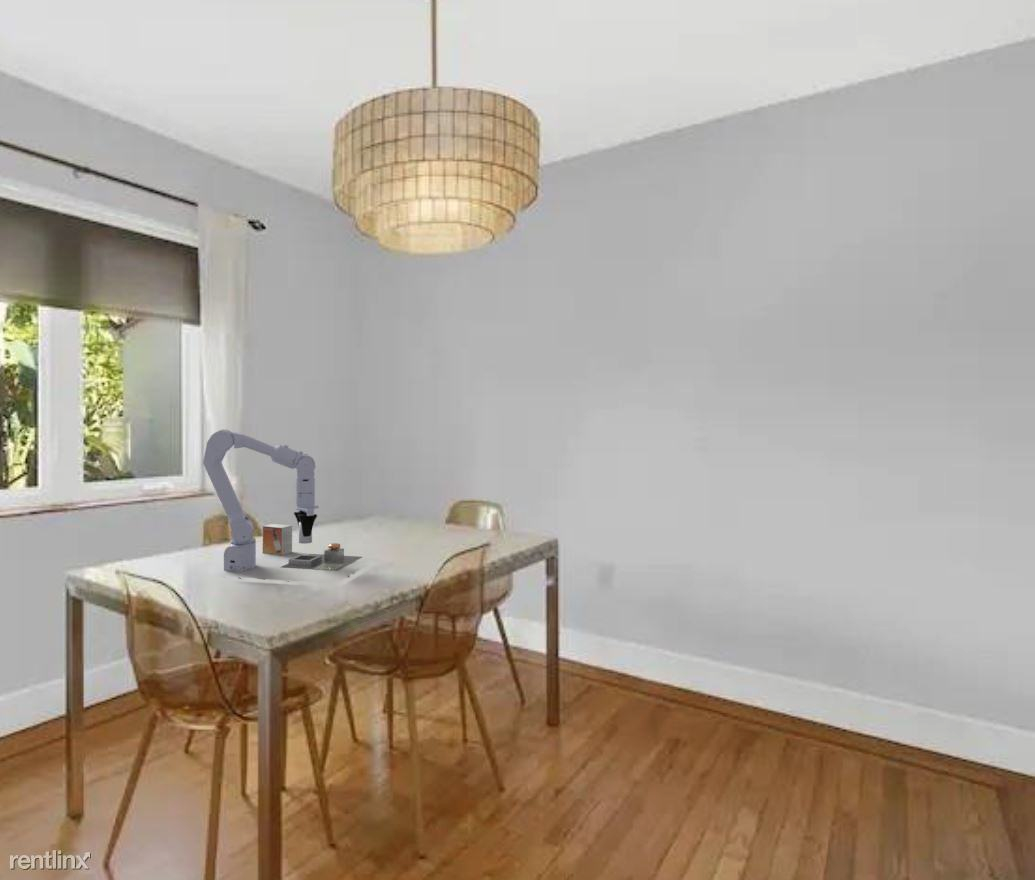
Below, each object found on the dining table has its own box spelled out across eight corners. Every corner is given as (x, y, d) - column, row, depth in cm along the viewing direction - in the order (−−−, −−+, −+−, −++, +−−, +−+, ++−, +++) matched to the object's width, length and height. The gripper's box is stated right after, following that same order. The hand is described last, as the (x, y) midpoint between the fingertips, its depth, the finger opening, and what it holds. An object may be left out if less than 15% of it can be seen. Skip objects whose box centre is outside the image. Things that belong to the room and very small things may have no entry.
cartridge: (313, 542, 205) (313, 520, 205) (300, 544, 203) (300, 521, 203) (310, 540, 209) (310, 518, 208) (297, 541, 207) (297, 519, 206)
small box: (262, 556, 218) (262, 525, 218) (273, 553, 224) (273, 523, 223) (281, 558, 216) (281, 527, 215) (292, 555, 221) (292, 524, 221)
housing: (337, 574, 197) (337, 560, 196) (280, 571, 200) (280, 557, 200) (362, 560, 215) (362, 547, 215) (309, 557, 218) (309, 544, 218)
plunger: (337, 558, 209) (337, 546, 209) (326, 558, 210) (326, 545, 209) (342, 556, 213) (342, 543, 212) (331, 555, 213) (331, 543, 213)
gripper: (323, 494, 201) (323, 537, 202) (312, 489, 214) (312, 530, 214) (300, 496, 197) (300, 539, 198) (290, 490, 210) (290, 531, 211)
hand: (305, 535), depth 206 cm, fingers closed on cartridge, 4 cm apart
